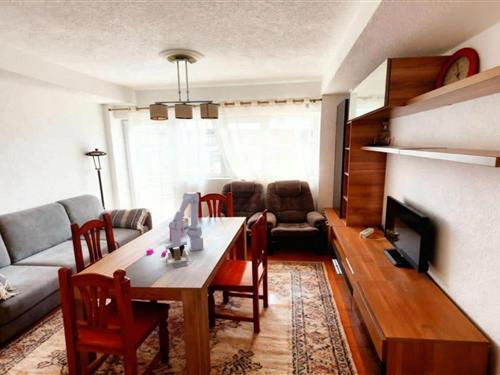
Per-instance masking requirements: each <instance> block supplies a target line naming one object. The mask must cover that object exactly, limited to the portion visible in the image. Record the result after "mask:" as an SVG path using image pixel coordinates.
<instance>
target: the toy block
mask: <svg viewBox="0 0 500 375" xmlns="http://www.w3.org/2000/svg"><path fill="white" fill-rule="evenodd" d="M167 252H169V251H168V250H166V249H164V250H163V251H162V252H161V255H160V256H161V257H166V253H167ZM153 254H155V251H154V249H153V248H149V249H147V250H146V255H153Z"/></svg>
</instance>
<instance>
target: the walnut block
mask: <svg viewBox="0 0 500 375" xmlns="http://www.w3.org/2000/svg"><path fill="white" fill-rule="evenodd" d="M173 249H174V260H175V261H176V260H181V258H180V248H179V247H176V248H173Z"/></svg>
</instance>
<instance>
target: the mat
mask: <svg viewBox="0 0 500 375" xmlns="http://www.w3.org/2000/svg"><path fill="white" fill-rule="evenodd" d="M172 266H173V269H179V268H184V267H188V266H189V265H188V262H187V261H183V262H178V263H172Z"/></svg>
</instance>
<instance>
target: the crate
mask: <svg viewBox="0 0 500 375" xmlns="http://www.w3.org/2000/svg"><path fill="white" fill-rule="evenodd" d="M180 258H181V260H176V261H175V260H174V259H173V258H172V255H171V252H170V251H168V252H167V253H166V256H165V259H166V260H165V261H166V264H167V265H170V264H172V265H173V263H179V262H185V261H189V253H188V251H187V249H184V250H183V253H182V256H180Z"/></svg>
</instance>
